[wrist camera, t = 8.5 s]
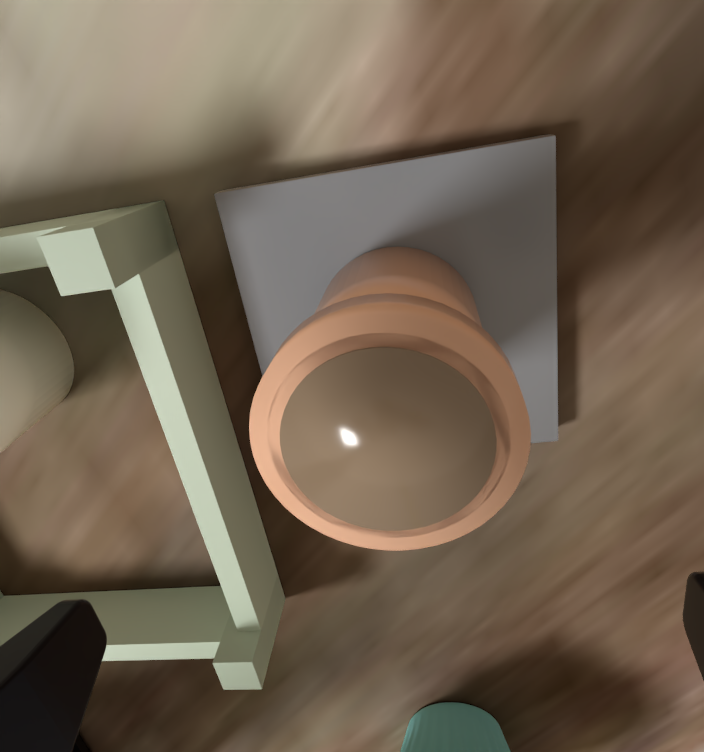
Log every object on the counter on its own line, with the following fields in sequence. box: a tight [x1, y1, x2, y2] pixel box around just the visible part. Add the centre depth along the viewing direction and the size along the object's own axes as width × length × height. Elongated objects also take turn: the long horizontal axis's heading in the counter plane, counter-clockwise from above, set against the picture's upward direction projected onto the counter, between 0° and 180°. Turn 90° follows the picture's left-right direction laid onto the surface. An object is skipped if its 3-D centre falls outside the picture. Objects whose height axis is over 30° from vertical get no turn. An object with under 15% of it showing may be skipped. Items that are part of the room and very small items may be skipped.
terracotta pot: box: [249, 247, 531, 550], centre depth 15 cm, size 6×6×7 cm
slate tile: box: [214, 134, 558, 443], centre depth 18 cm, size 10×10×1 cm
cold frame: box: [0, 200, 285, 690], centre depth 21 cm, size 18×16×4 cm
